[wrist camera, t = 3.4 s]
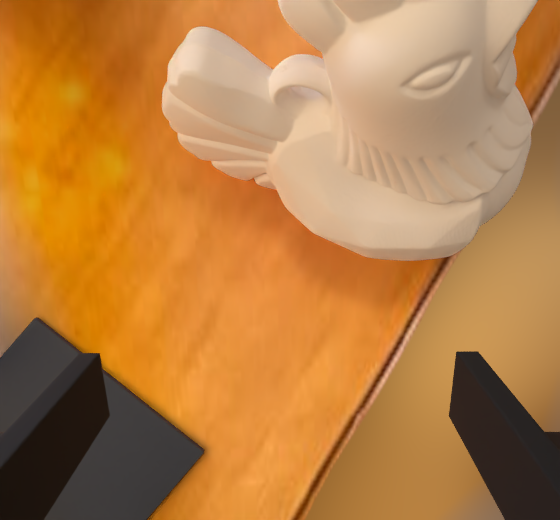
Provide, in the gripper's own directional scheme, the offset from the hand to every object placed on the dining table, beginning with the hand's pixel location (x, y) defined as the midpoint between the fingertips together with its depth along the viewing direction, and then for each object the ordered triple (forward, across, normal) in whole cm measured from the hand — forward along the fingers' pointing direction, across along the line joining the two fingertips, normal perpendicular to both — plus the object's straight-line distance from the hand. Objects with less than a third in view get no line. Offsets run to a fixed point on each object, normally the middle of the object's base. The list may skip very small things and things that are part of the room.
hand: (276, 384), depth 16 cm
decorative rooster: (+28, +4, +7) cm, 29 cm away
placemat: (+18, -22, -21) cm, 35 cm away
